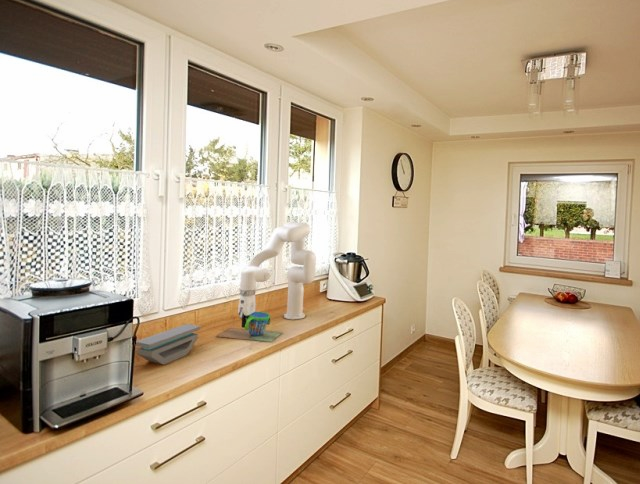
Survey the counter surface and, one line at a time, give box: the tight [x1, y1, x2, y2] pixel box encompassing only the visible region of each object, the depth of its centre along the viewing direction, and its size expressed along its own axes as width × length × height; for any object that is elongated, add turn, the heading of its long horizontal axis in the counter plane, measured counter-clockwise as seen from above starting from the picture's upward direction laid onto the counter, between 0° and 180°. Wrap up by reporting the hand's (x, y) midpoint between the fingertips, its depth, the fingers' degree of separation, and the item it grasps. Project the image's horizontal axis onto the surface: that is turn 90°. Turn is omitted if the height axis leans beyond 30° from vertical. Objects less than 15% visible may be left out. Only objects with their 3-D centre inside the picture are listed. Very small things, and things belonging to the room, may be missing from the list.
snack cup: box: [244, 311, 271, 335], centre depth 190 cm, size 16×10×10 cm
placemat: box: [216, 327, 282, 343], centre depth 190 cm, size 13×29×1 cm, turn 85°
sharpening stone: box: [135, 323, 201, 366], centre depth 157 cm, size 25×8×11 cm, turn 164°
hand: (245, 327), depth 189 cm, fingers closed
